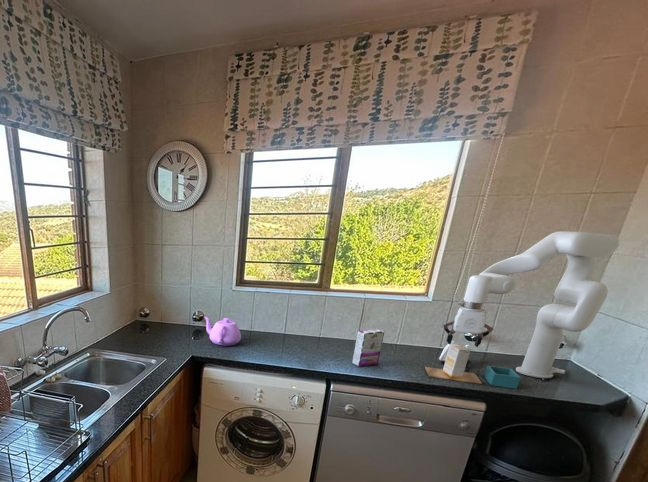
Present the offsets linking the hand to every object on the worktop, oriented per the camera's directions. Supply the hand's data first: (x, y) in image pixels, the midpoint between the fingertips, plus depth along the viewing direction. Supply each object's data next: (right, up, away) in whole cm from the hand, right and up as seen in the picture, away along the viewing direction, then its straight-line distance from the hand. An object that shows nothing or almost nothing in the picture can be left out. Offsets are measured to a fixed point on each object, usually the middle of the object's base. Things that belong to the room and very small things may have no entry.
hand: (462, 344), depth 174 cm
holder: (+15, -16, -2) cm, 22 cm away
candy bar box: (-33, -8, +19) cm, 38 cm away
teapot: (-96, +5, +50) cm, 108 cm away
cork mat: (-1, -13, +5) cm, 14 cm away
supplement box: (-1, -13, +5) cm, 14 cm away
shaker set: (+11, -8, +21) cm, 25 cm away
